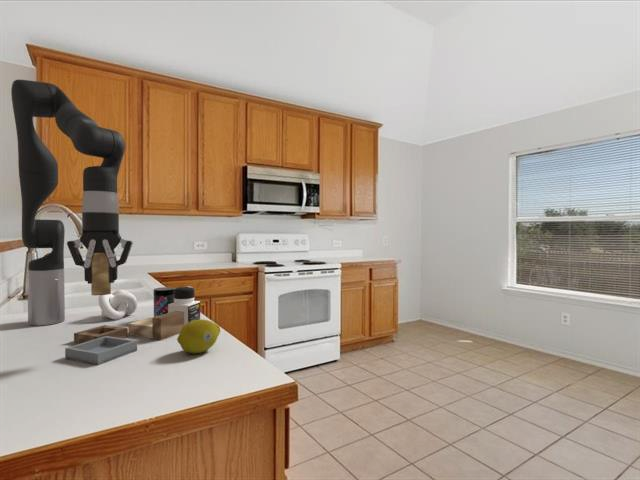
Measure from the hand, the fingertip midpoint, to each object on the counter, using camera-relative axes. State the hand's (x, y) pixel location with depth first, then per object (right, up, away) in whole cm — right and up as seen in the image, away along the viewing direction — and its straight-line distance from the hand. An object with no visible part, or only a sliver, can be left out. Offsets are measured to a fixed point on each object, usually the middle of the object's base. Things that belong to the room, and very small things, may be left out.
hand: (101, 282), depth 88 cm
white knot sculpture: (-17, -17, +38) cm, 45 cm away
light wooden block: (+3, -17, +20) cm, 26 cm away
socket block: (-7, -17, +12) cm, 22 cm away
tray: (0, -17, 0) cm, 17 cm away
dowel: (0, -3, 0) cm, 3 cm away
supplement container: (0, -17, +35) cm, 39 cm away
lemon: (+23, -18, +3) cm, 29 cm away
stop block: (+9, -17, +17) cm, 26 cm away
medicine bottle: (+9, -17, +28) cm, 34 cm away
